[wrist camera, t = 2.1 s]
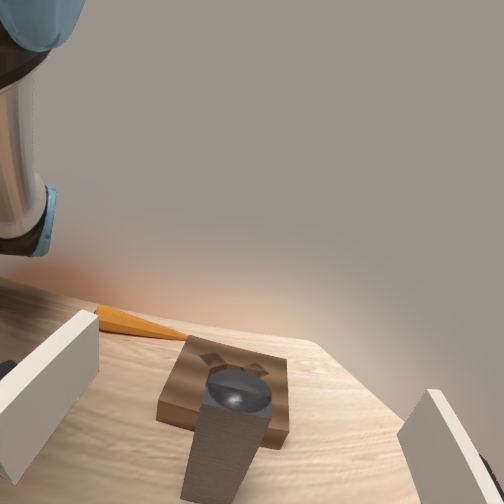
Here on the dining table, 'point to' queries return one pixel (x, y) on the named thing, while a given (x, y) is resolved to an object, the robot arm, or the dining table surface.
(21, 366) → the robot arm
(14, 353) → the dining table surface
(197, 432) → the d peg
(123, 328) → the carrot
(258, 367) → the socket block
